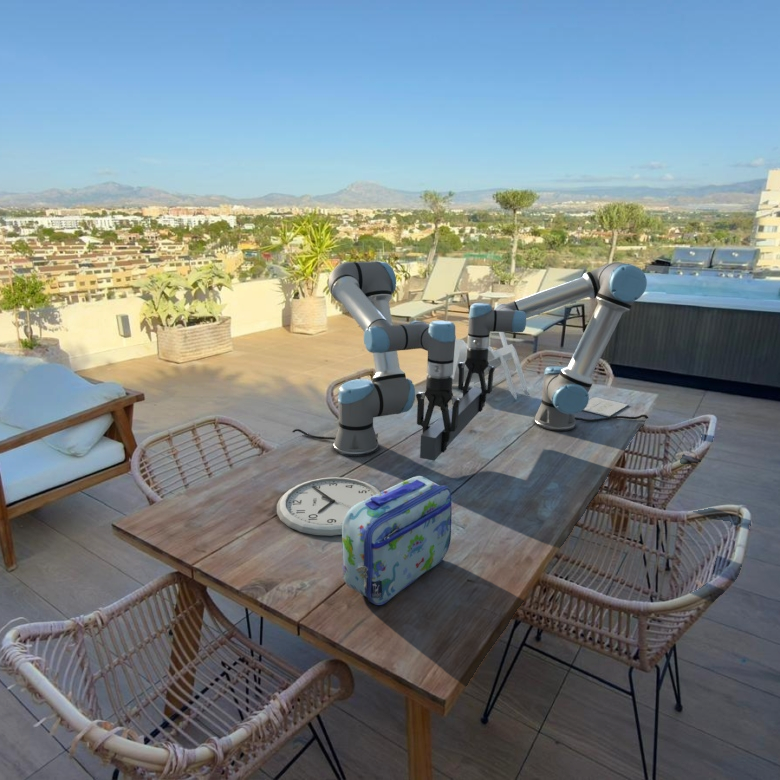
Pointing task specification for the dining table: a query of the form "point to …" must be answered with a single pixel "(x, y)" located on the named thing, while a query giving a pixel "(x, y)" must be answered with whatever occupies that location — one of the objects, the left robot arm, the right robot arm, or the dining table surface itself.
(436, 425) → the plank
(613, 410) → the invitation card
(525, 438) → the dining table surface
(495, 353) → the white plastic object
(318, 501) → the wall clock
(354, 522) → the lunch box
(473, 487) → the dining table surface
